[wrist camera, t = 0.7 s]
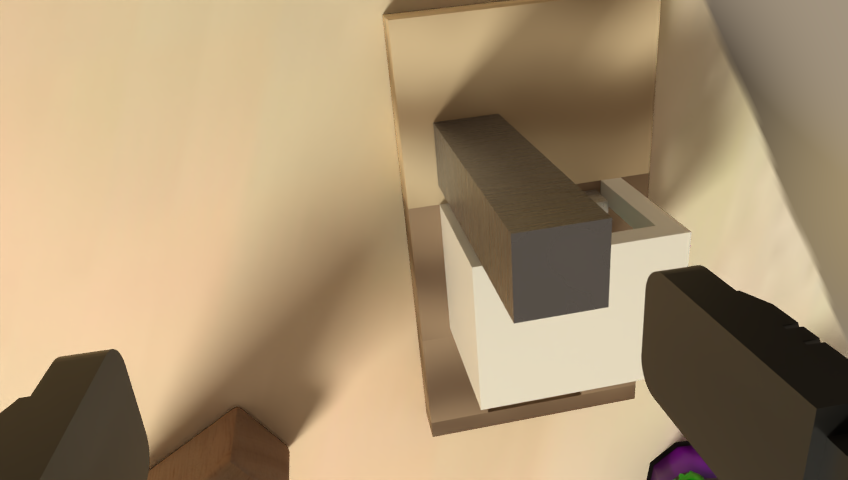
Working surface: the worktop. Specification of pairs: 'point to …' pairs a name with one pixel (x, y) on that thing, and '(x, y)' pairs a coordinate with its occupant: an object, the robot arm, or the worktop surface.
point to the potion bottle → (680, 465)
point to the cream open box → (566, 334)
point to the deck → (535, 120)
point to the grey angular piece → (524, 219)
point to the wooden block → (228, 453)
